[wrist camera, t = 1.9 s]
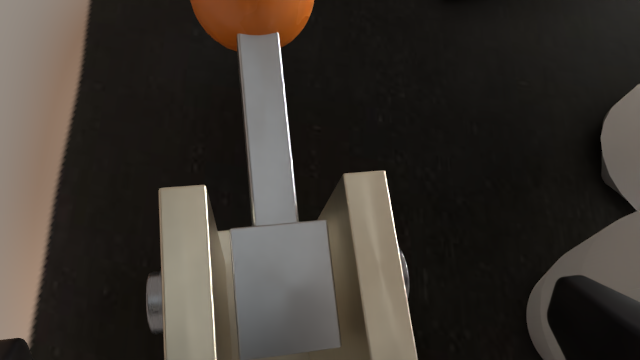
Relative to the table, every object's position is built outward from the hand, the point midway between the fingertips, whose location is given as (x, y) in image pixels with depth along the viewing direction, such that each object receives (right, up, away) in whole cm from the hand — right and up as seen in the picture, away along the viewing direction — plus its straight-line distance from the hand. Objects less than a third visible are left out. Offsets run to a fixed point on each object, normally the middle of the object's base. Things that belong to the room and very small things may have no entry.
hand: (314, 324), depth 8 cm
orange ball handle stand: (-2, -3, +13) cm, 14 cm away
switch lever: (-2, +3, +6) cm, 7 cm away
